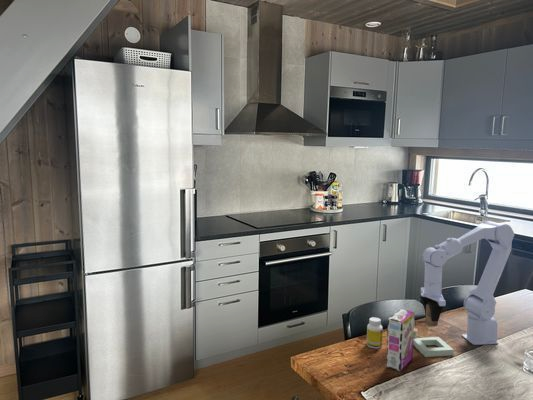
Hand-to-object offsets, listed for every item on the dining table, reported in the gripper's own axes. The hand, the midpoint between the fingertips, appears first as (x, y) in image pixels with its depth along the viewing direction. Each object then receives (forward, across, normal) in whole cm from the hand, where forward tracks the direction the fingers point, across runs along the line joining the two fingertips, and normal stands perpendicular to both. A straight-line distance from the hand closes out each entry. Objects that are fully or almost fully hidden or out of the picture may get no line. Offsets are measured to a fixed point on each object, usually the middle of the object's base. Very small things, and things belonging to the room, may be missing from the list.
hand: (431, 318), depth 145 cm
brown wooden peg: (+2, 0, 0) cm, 2 cm away
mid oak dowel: (+10, -8, -5) cm, 13 cm away
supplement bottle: (+10, -1, -21) cm, 23 cm away
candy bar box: (+10, +12, -16) cm, 23 cm away
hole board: (+10, +4, -2) cm, 10 cm away
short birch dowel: (+10, -3, -6) cm, 12 cm away
